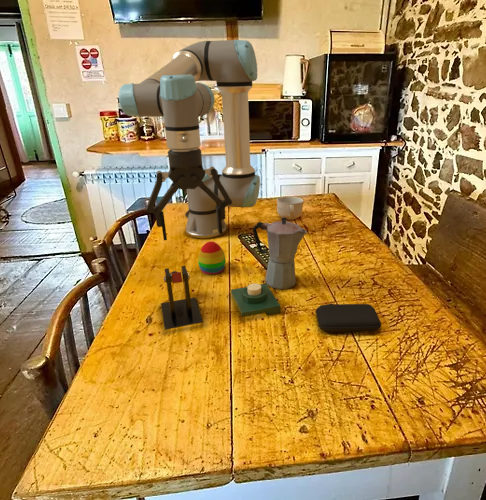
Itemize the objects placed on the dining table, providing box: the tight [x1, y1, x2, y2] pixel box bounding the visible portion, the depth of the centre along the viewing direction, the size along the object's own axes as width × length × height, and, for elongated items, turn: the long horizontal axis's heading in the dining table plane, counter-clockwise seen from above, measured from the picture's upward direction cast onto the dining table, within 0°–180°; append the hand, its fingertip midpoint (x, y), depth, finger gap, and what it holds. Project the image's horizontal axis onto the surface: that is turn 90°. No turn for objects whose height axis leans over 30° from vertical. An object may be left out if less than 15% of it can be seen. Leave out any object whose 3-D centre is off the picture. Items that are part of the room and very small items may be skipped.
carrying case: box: [315, 302, 382, 333], centre depth 96 cm, size 11×3×15 cm
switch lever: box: [170, 270, 183, 284], centre depth 100 cm, size 13×3×3 cm, turn 18°
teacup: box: [276, 195, 304, 221], centre depth 162 cm, size 14×11×8 cm
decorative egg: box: [197, 240, 227, 275], centre depth 119 cm, size 8×8×10 cm
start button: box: [246, 282, 261, 296], centre depth 102 cm, size 4×4×2 cm
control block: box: [230, 283, 281, 318], centre depth 103 cm, size 12×10×4 cm
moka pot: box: [251, 217, 308, 290], centre depth 111 cm, size 10×15×20 cm, turn 78°
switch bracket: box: [160, 265, 204, 331], centre depth 97 cm, size 12×9×13 cm
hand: (193, 235), depth 99 cm, fingers open, 13 cm apart
